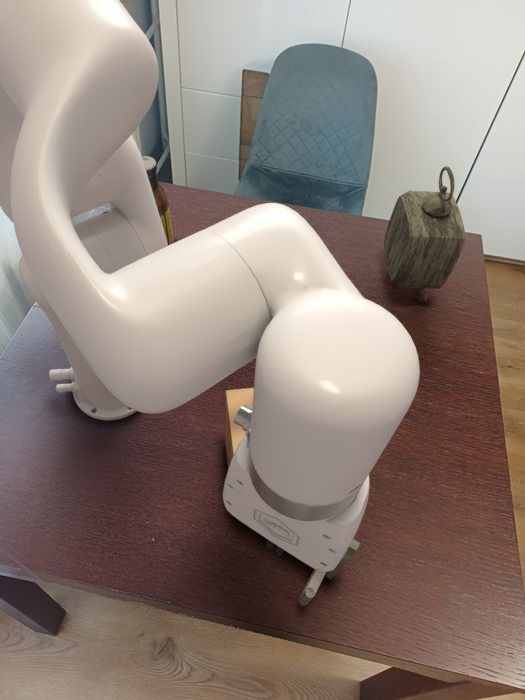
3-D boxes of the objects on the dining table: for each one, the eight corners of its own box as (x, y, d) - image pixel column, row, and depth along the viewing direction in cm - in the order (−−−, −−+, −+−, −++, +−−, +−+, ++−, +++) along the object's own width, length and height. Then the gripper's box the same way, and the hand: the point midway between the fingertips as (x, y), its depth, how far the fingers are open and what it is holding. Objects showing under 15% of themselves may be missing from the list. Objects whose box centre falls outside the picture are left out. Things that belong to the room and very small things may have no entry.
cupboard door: (313, 616, 63) (335, 595, 51) (210, 546, 67) (207, 510, 55) (334, 573, 67) (360, 543, 54) (234, 508, 71) (237, 466, 58)
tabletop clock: (432, 309, 95) (488, 202, 75) (385, 307, 95) (430, 199, 75) (418, 256, 104) (465, 147, 83) (376, 254, 103) (413, 144, 83)
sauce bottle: (159, 232, 103) (147, 145, 87) (181, 247, 101) (173, 160, 85) (135, 248, 100) (118, 161, 83) (157, 264, 98) (144, 177, 81)
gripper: (176, 443, 31) (192, 528, 46) (392, 578, 27) (334, 624, 42) (240, 362, 35) (236, 464, 50) (438, 470, 31) (370, 546, 46)
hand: (281, 537), depth 46 cm, fingers closed
